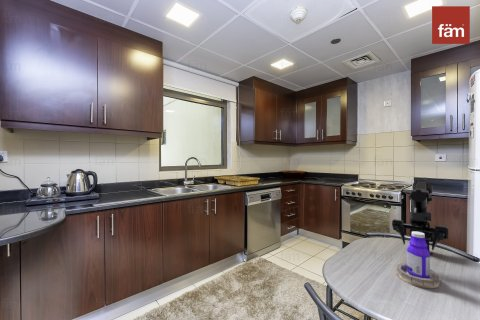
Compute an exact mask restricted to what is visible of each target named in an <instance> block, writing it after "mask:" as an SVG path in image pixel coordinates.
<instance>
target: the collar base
mask: <svg viewBox="0 0 480 320" xmlns="http://www.w3.org/2000/svg"><path fill="white" fill-rule="evenodd" d="M396 275H397V277H398V279H400V280H402V281H403V282H404V283H407V284H409V285H411V286H415V287H417V288H422V289H431V290H432V289H438V288H439V286H440V276H439V274H438V273H437V272H436V271H434V270H433V269H431V268H430V277H429V279H426V278H419V277H415V276H412V275H410V274H409V273H408V272H407V262H406V263H405V262H404V263H400V264H397V266H396Z"/></svg>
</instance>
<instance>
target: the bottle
mask: <svg viewBox="0 0 480 320" xmlns="http://www.w3.org/2000/svg"><path fill="white" fill-rule="evenodd" d="M408 243H409V245H408V246H407V248H406V263H407V272H408V273H409V274H410V275H412V276H415V277H419V278H426V279H429V277H430V269H431V254H430V253H429V251H430V250H429V251H428V249H427V246H428V245H427V244H426V242H425V234H424V233H422V232H417V231H413V232H412V236H411V235H410V239H409V241H408Z"/></svg>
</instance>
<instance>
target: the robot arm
mask: <svg viewBox="0 0 480 320" xmlns="http://www.w3.org/2000/svg"><path fill="white" fill-rule="evenodd" d="M432 195H433V183H430V182H429V181H428V180H427V179H416V180H415V182H413V183H412V190H411V192H409V195H408V200H409V201H410V205H411V212H410V217H409V224H408V223H404V220H401V219H396V218H395V219H393V220H392V221H391V225H392V229H393V230H394V231H396V233H399V235H400V238H401V240H402V243H403V245H406V238H405V237H406V235H405V229H407V230H409V234H410V237H411V236H412V232H413V231H417V232H422V233H424V234H425V242H426V244H427V245H428V246H427V249H428V251H429V253H430V255H433V252H432V251H434V250H435V248H436V246H437V245H438V243H439V242H440V241H444V240H448V239H449V228H448V227H447V226H445V225H444V226H443V225H435V226H434V227H431V224H430V222H431V221H432V212H428V211H429V209H428V204H429V203H431V201H433V196H432ZM430 243H431V251H430Z"/></svg>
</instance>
